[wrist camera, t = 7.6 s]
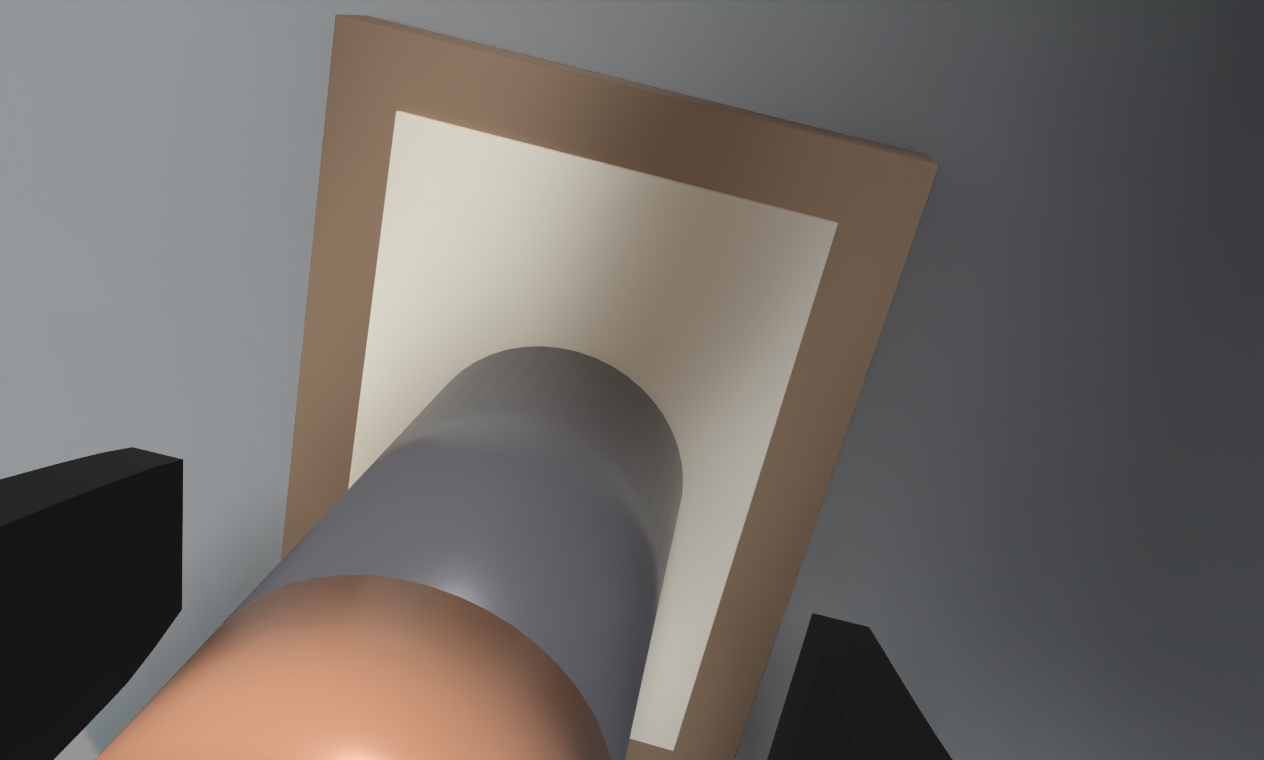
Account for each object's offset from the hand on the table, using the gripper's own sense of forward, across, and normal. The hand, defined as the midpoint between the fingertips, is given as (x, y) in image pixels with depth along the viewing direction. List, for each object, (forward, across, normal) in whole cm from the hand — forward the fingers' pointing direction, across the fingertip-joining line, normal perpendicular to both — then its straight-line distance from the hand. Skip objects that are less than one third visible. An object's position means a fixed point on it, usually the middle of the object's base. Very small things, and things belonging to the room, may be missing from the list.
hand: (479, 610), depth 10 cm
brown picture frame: (+5, 0, 0) cm, 5 cm away
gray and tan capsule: (+4, 0, 0) cm, 4 cm away
